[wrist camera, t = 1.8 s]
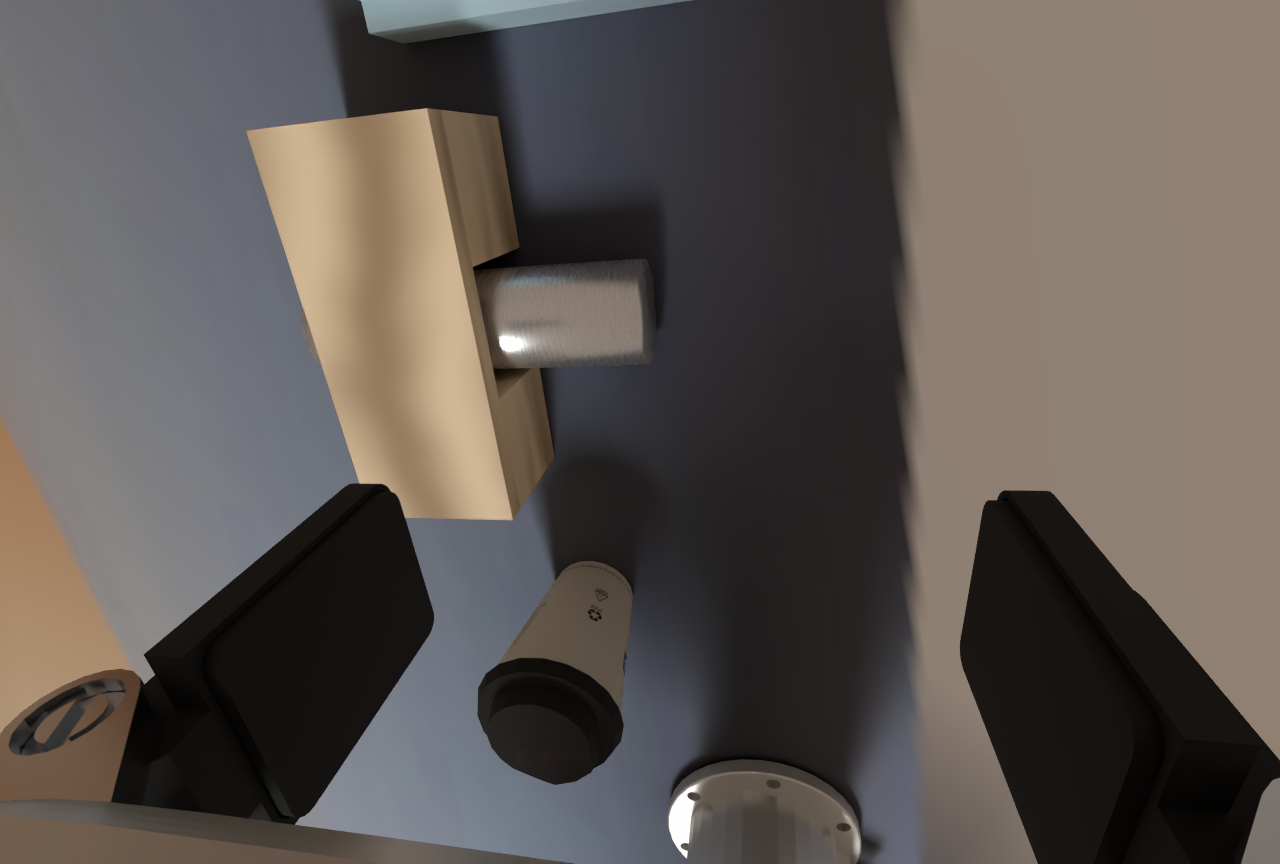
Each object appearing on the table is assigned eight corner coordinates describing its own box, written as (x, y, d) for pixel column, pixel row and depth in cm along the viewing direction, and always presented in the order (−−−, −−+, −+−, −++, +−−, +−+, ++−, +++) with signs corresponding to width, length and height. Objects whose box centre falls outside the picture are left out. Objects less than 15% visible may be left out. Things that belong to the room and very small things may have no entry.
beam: (497, 116, 25) (427, 108, 20) (554, 457, 32) (512, 520, 26) (349, 134, 27) (246, 130, 21) (433, 457, 33) (370, 516, 28)
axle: (651, 249, 27) (632, 270, 23) (659, 344, 28) (643, 379, 25) (350, 270, 30) (288, 292, 26) (376, 355, 31) (322, 388, 28)
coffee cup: (514, 573, 36) (432, 715, 27) (604, 523, 33) (546, 663, 24) (586, 653, 37) (531, 811, 28) (677, 612, 35) (648, 772, 26)
